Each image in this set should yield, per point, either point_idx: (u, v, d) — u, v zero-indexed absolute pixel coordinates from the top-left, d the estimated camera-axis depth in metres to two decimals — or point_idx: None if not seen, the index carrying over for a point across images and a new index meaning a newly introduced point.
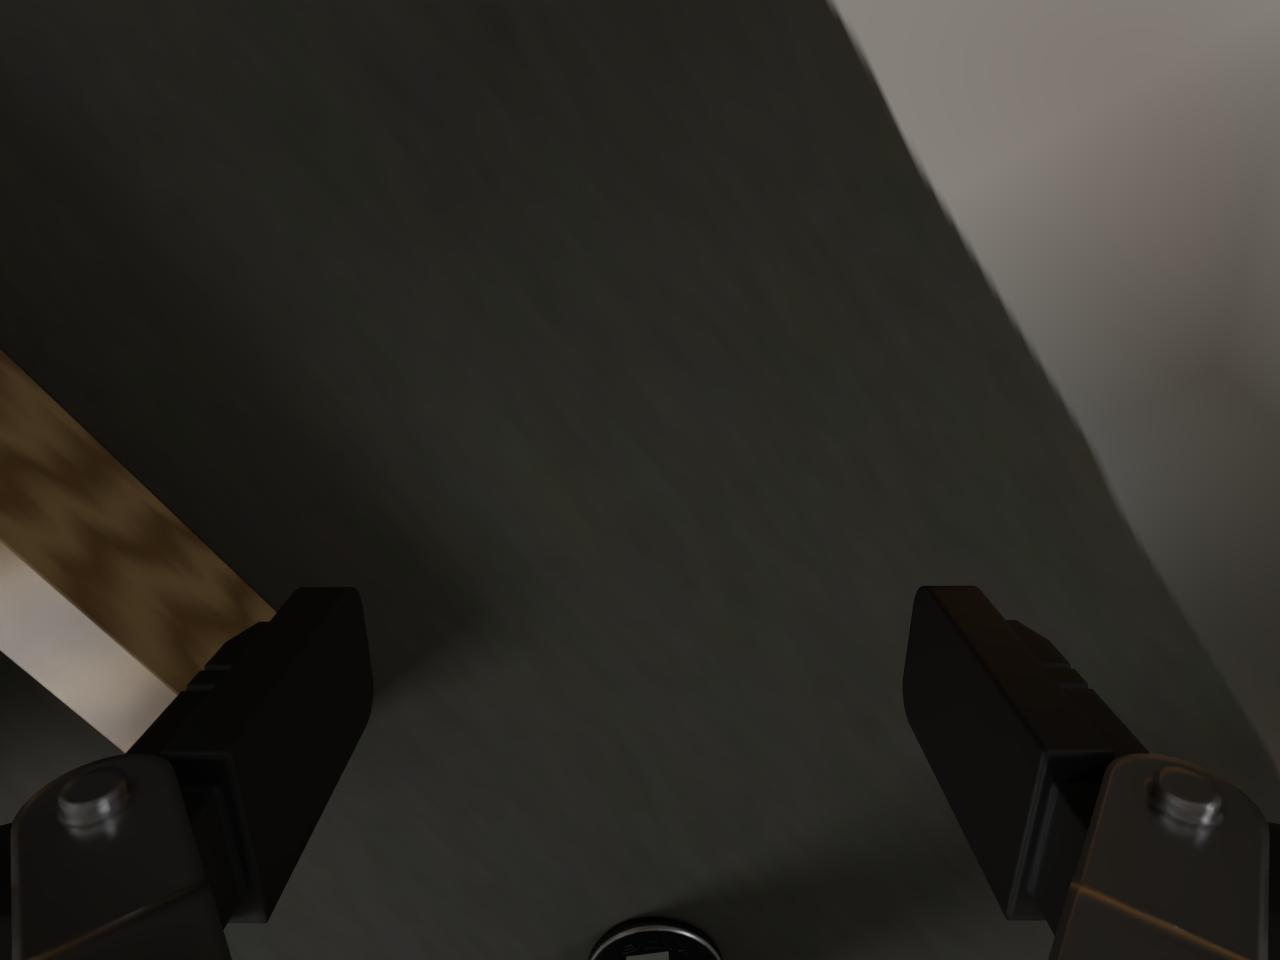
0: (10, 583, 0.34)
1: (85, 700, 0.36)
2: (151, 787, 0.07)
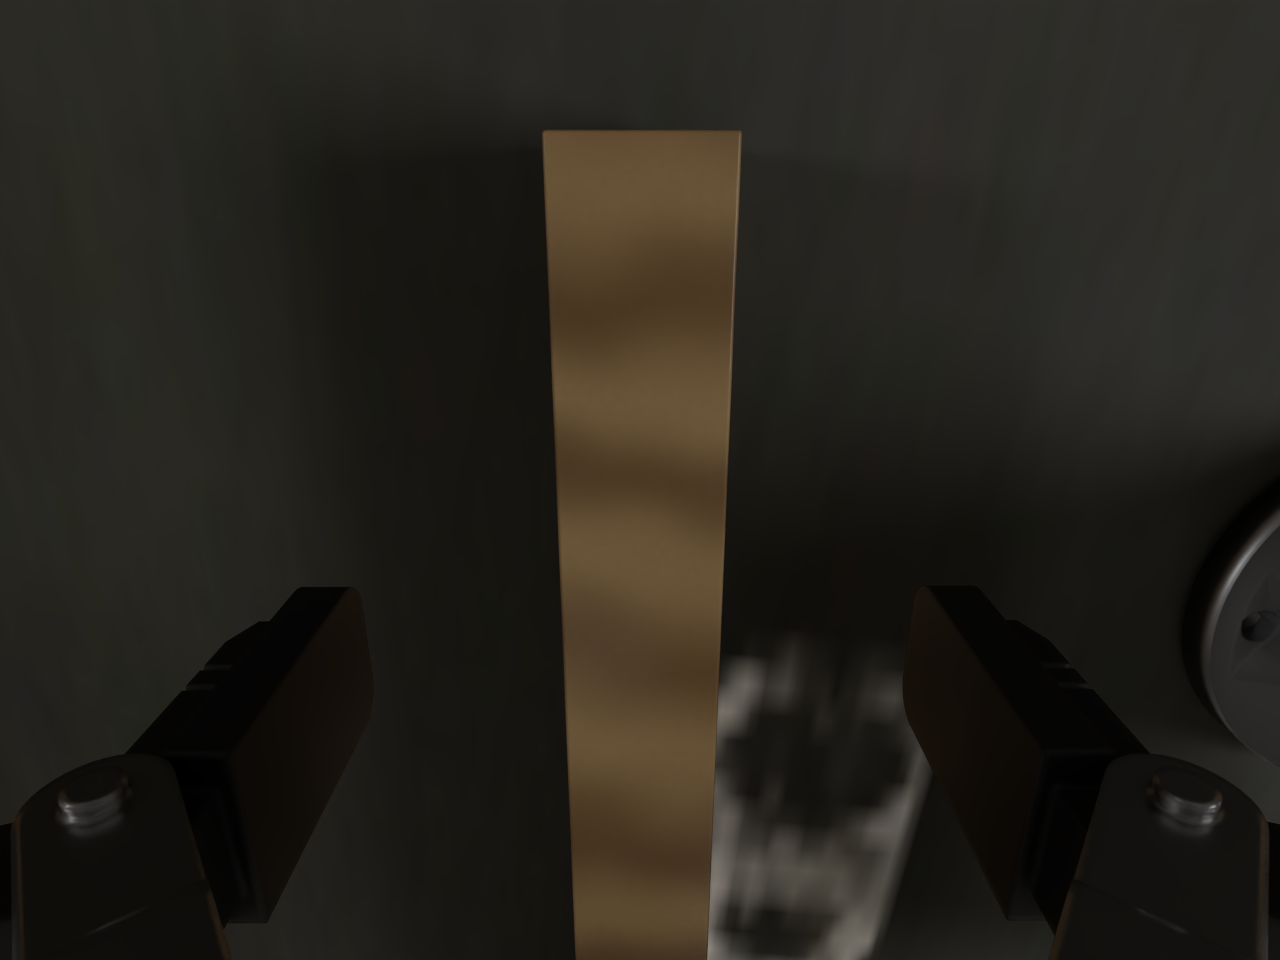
0: (610, 727, 0.24)
1: (690, 555, 0.22)
2: (151, 788, 0.07)
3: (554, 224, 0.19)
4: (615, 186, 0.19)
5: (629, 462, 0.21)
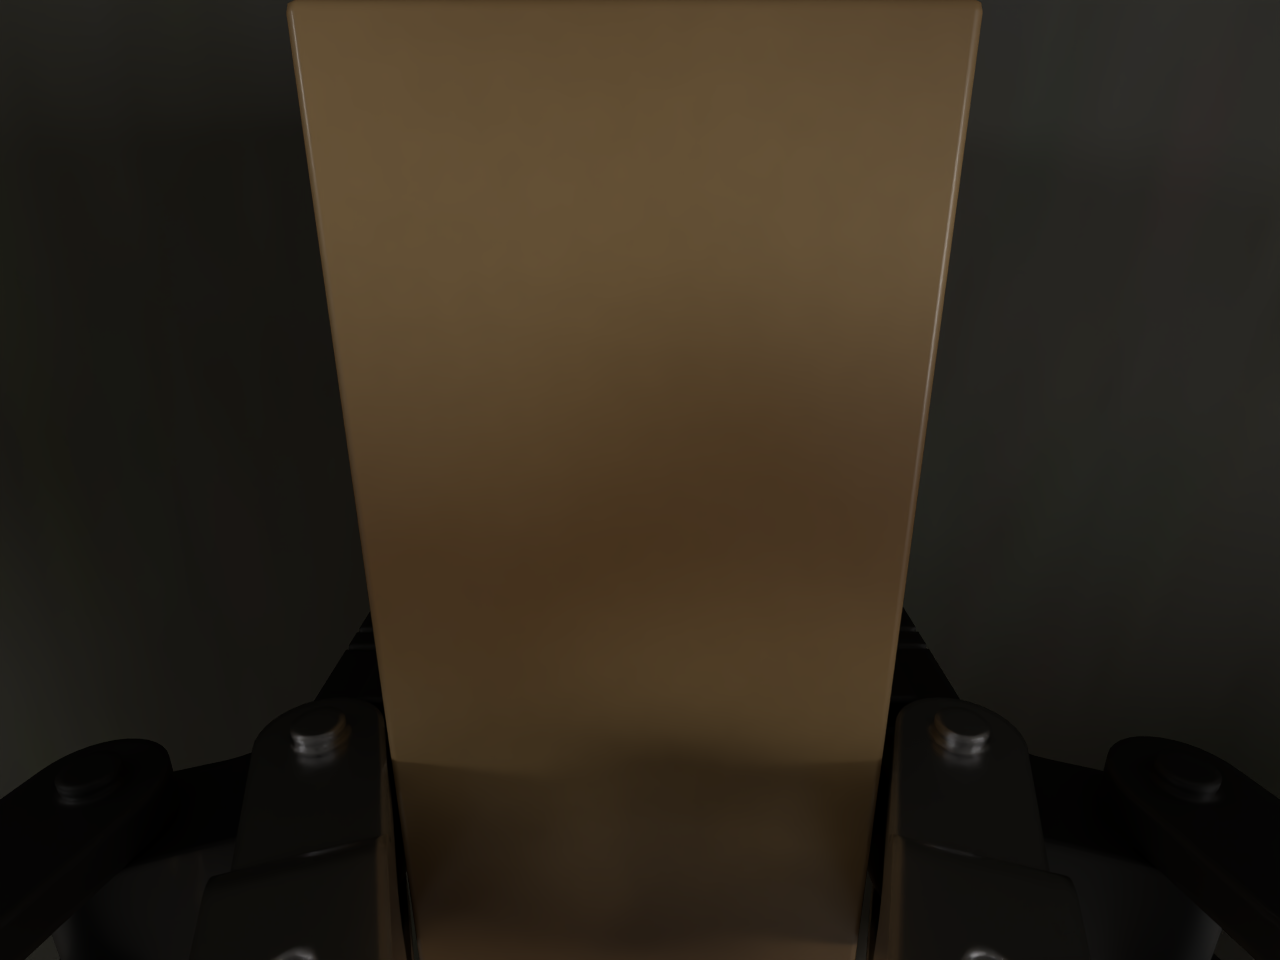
0: None
1: None
2: (364, 725, 0.08)
3: (352, 316, 0.06)
4: (546, 196, 0.06)
5: (604, 914, 0.08)
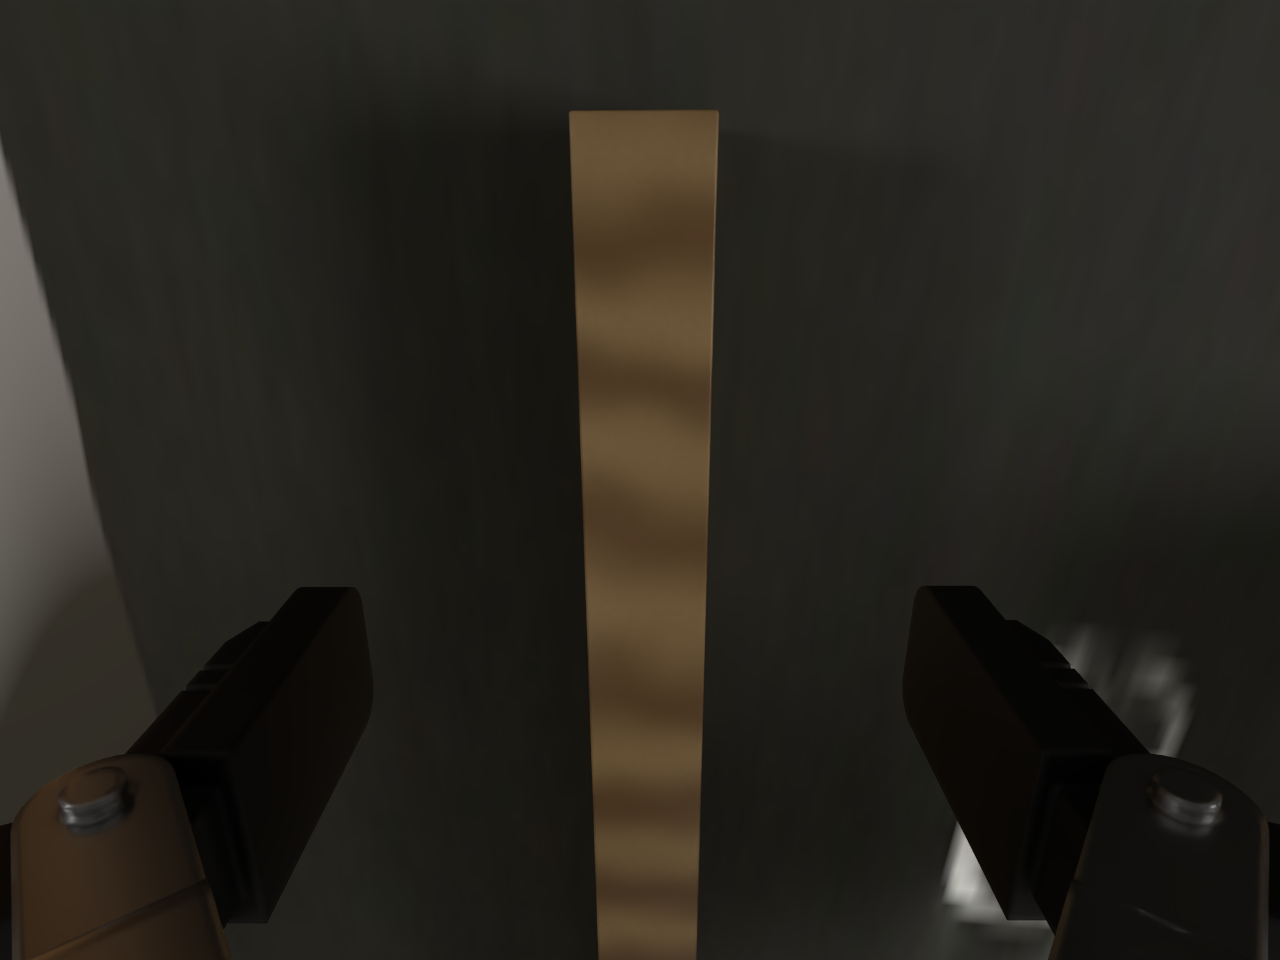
0: (621, 591, 0.30)
1: (683, 446, 0.28)
2: (151, 787, 0.07)
3: (577, 182, 0.25)
4: (624, 152, 0.25)
5: (635, 369, 0.27)
